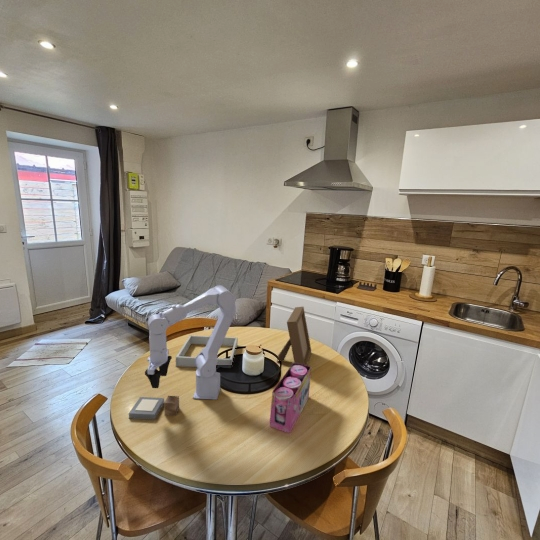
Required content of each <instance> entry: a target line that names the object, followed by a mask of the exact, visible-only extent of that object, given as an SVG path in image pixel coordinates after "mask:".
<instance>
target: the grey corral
mask: <svg viewBox="0 0 540 540" xmlns="http://www.w3.org/2000/svg"><path fill="white" fill-rule="evenodd" d="M210 336H211V335H209V336H208V335H194V334H191V335H188V337H187V339H186V341H185V342H184V343H183V345H182V347H181V348H180V349H179V351H178V353H177V355H176V356H175V367H189V368H190V367H191V368H197V366H196V364H195V358H196V356H186V353H187V352H188V351H189V348H190V347H191V345H205V346H206V345H207V343H208V340H209V338H210ZM221 346H226V347H228V346H229V347H232V350H231V352H230V357H229V358H225V357H223V358H222V357H221V358H218V362H217V364H216V365H232V362H233V363H234V361H233V358H234V359H235V357H234V355H235V356H236V352H237V349H236V350H235V348H238V337H234V336H233V337H232V336H225V338H224V340H223V342H222V345H221ZM232 366H233V365H232Z"/></svg>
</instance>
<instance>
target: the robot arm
mask: <svg viewBox="0 0 540 540" xmlns="http://www.w3.org/2000/svg"><path fill="white" fill-rule="evenodd" d="M236 300H237V299H236V297H235V295H234V294H233V292H231V291H229V290H228V289H227V288H226V287H225V286H224V285H222V284H221V285H220V284H217V285H216V286H214V287H211V288H209V289H208V290H207V291H204V292H203V293H201V294H200V295H198V296H197V297H195V298H193V299H191V300H190V301H189V302H187V303H185V304H179V303H177V304H172V305H171V307H170V308H168V309H166V310H164V311H160V312H158V313H154V314H152V315H151V316H150V317H149V318H148V320H147V325H148V329H149V331H148V332H149V333H148V334H149V337H148V341H149V356H148V357H147V359H146V361H147V362H148V363H149V364H148V367H147V368H146V369H145V371H144V375H145V376H146V377H147V379H148V380H149V382H150V383H149V384H150V385H151V388H152V389H159V387H160V383H161V382H160V380H161V377H167V375H168V370H169V366H170V364H171V363H170V362H171V360H172V358H173V357H172V355H169V354H170V352H169V349H167V347H168V346H167V333H166V332H167V329H168V328H170V327H171V326H173V325H175V324H177V323H179V322H180V321H183V320H185V319H186V318H187V315H188V314H189V313H191V312H193V311H196V310H198V309H200V308H202V307H205V306H206V305H209V306H216V307H217V306H218V307H219V309H220V311H221V312H220V314H219V316H218V317H217V318H218V319H217V321H216V322H215V325H214V327H213V330H212V331H211V335H209V336H210V338H209V340H208V343H207V345H205V347H203V348H201V350H200V352H199V353H198V354H197V355H196V356H195V357H196V358H195V364H196V366H197V367H196V371H195V391H194V394H193V396H192V399H197V400H217V399H218V397H219V394H220V392H221V391H220V390H221V373H220V372H217V368H216V364H217V362H218V356H219V355H218V354H219V351H220V349H221V346H223V345H222V342H223V340H224V338H225V337H227V333H228V331H229V329H230V327H231V324H232V322H233V321H234V318H235V317H236V312H237V311H236Z"/></svg>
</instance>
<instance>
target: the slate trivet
mask: <svg viewBox="0 0 540 540" xmlns="http://www.w3.org/2000/svg"><path fill="white" fill-rule="evenodd" d="M164 402H165V398H164V397H153V396H152V397H149V396H148V397H147V396H146V397H145V396H140V397H139V398H138V399H137V400H136V402H135V404H134V405H133V407H132V408H131V410H130V411H129V413H128V419H135V420H136V419H139V420H156V418H157V416H158V415H159V414H160V411H161V410H162V408H163V405H164Z"/></svg>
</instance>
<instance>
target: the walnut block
mask: <svg viewBox="0 0 540 540" xmlns="http://www.w3.org/2000/svg"><path fill="white" fill-rule="evenodd" d="M163 405H164V416H177V413H178V411H179V410H180V395H179V396H178V395H168V396H167V397H166V398H165V399H164V404H163Z"/></svg>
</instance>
